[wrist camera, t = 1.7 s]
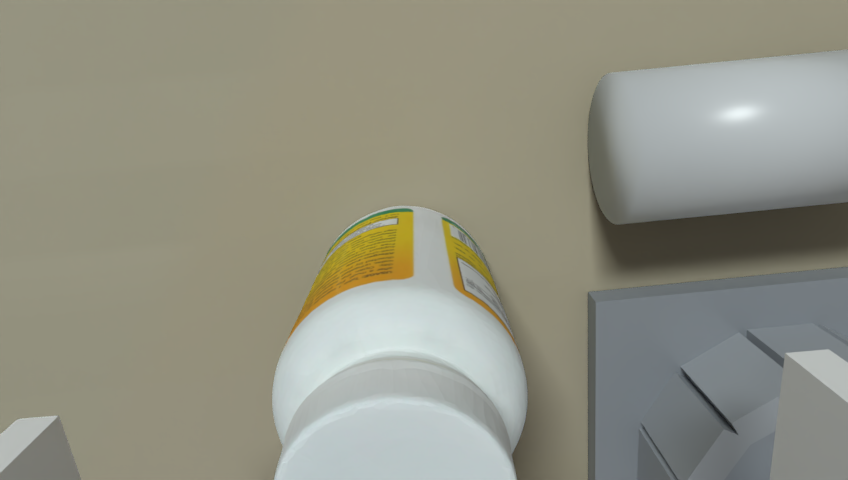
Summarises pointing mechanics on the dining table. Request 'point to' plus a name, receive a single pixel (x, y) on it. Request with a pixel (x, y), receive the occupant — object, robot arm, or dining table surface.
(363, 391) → the supplement bottle
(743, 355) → the coupling socket
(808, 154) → the pipe stub
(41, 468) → the robot arm
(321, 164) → the dining table surface
